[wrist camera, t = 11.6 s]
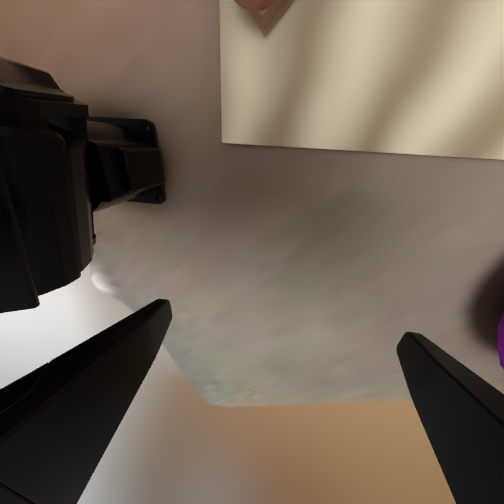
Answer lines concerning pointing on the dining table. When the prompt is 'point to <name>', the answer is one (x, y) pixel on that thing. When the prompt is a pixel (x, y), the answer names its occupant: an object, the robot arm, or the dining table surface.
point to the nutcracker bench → (367, 77)
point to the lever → (265, 11)
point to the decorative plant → (501, 341)
